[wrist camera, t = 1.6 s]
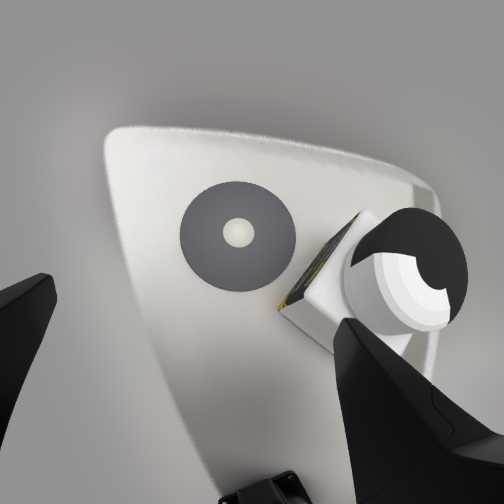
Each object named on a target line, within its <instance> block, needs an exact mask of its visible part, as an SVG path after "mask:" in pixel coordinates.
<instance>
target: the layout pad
mask: <svg viewBox="0 0 504 504" xmlns="http://www.w3.org/2000/svg"><path fill="white" fill-rule="evenodd" d="M180 241H181V247H182V250H183V253H184V256H185V258H186V260H187V262H188V264H189V265H190V267H191V268H192V269H193V270H194V272H195V273H196V274H197V275H198V276H199V277H201V278H202V279H203V280H205V281H206V282H208V283H209V284H211V285H213V286H215V287H218V288H221V289H224V290H229V291H239V292H240V291H250V290H255V289H258V288H261V287H263V286H265V285H267V284H269V283H270V282H272V281H273V280H275V279H276V278H277V277H278V276H279V275H280V274H281V273H282V272H283V271H284V270H285V269H286V267H287V266H288V264H289V262H290V260H291V258H292V256H293V253H294V249H295V243H296V232H295V226H294V223H293V220H292V217H291V215H290V213H289V211H288V209H287V208H286V206H285V205H284V204H283V203H282V201H281V200H280V199H279V198H278V197H276V196H275V195H274V194H273V193H271V192H270V191H268V190H267V189H265V188H263V187H260V186H258V185H255V184H252V183H247V182H239V181H237V182H225V183H221V184H217V185H215V186H212V187H210V188H208V189H206V190H205V191H203V192H202V193H200V194H199V195H198V196H197V197H196V198H195V199H194V200H193V201H192V202H191V204H190V205H189V206H188V208H187V210H186V211H185V214H184V216H183V219H182V223H181V228H180Z"/></svg>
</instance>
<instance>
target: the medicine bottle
mask: <svg viewBox="0 0 504 504" xmlns="http://www.w3.org/2000/svg"><path fill="white" fill-rule="evenodd" d="M467 285H468V271H467V263H466V259H465V255H464V252H463V249H462V247H461V244H460V242H459V240H458V239H457V237H456V235H455V234H454V232H453V231H452V230H451V228H450V227H449V226H448V225H447V224H446V223H445V222H444V221H443V220H442V219H440V218H439V217H437V216H436V215H434V214H432V213H430V212H428V211H425V210H423V209H419V208H404V209H400V210H398V211H396V212H394V213H393V214H391V215H390V216H389V217H387V218H386V219H385V220H384V221H381V220H380V219H379V218H378V217H376V216H375V215H374V214H373V213H372V212H371V211H369V210H368V209H363V210H362V211H360V212H359V213H358V214H357V215H356V216H355V217H354V218H353V219H352V220H351V221H350V222H349V223H348V224H346V225H345V226H344V227H343V228H342V229H341V230H340V231H339V232H338V233H337V234H336V235H335V236H333V237H332V238H331V239H330V240H329V241H328V242H327V243H326V244H325V245H324V247H323V248H322V250H321V251H320V252H319V254H318V255H317V256H316V258H315V259H314V260H313V262H312V263H311V265H310V266H309V267H308V269H307V270H306V271H305V273H304V274H303V275H302V277H301V278H300V279H299V281H298V282H297V283H296V285H295V286H294V287H293V289H292V290H291V291H290V293H289V294H288V295H287V296H286V298H285V299H284V300H283V302H282V303H281V304H280V306H279V308H278V309H279V312H280V313H281V314H283V315H284V316H285V317H286V318H288V319H289V320H290V321H291V322H293V323H294V324H295V325H296V326H298V327H299V328H300V329H302V330H303V331H304V332H305V333H307V334H308V335H309V336H311V337H312V338H313V339H314V340H316V341H317V342H318V343H320V344H321V345H322V346H323V347H325V348H326V349H327V350H329V351H330V352H331V353H333V354H334V350H333V339H334V336H335V333H336V331H337V329H338V327H339V324H340V322H341V320H342V319H343V318H345V317H348V318H356V319H357V320H359V321H360V322H361V323H362V324H363V325H365V326H366V327H367V328H368V329H369V330H370V331H372V332H373V333H374V334H375V335H376V336H377V337H379V338H380V339H381V340H382V341H383V342H384V343H386V344H387V345H388V346H389V347H390V348H391V349H393V350H394V351H395V352H396V353H397V354H398V355H400V356H401V355H402V353H403V351H404V349H405V348H406V346H407V344H408V342H409V340H410V338H411V336H412V335H413V333H421V332H429V331H436V330H439V329H441V328H443V327H445V326H446V325H448V324H449V323H450V322H451V321H452V320H453V319H454V318H455V316H456V315H457V314H458V312H459V310H460V308H461V306H462V304H463V302H464V298H465V295H466V291H467Z"/></svg>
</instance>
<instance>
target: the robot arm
mask: <svg viewBox="0 0 504 504" xmlns="http://www.w3.org/2000/svg"><path fill="white" fill-rule="evenodd" d="M56 303H57V293H56V289H55V284H54V279H53V277H52V276H51V275H50V274H45V273H39V274H37V275H34V276H32V277H30V278H28V279H25V280H23V281H21V282H19V283H16V284H14V285H12V286H10V287H7V288H5V289H3V290H1V291H0V448H1V445H2V442H3V439H4V436H5V432H6V429H7V426H8V423H9V420H10V417H11V414H12V412H13V409H14V406H15V403H16V401H17V398H18V395H19V393H20V390H21V388H22V385H23V383H24V381H25V378H26V376H27V373H28V371H29V369H30V366H31V364H32V362H33V360H34V357H35V355H36V353H37V351H38V349H39V347H40V344H41V342H42V340H43V337H44V335H45V331H46V329H47V326H48V324H49V321H50V318H51V316H52V313H53V311H54V308H55V306H56ZM333 350H334V361H335V372H336V383H337V390H338V395H339V401H340V406H341V411H342V416H343V422H344V427H345V433H346V438H347V444H348V450H349V456H350V462H351V468H352V475H353V481H354V488H355V495H356V502H357V504H504V435H500V434H497V433H495V432H493V431H491V430H490V429H488V428H487V427H486V426H484V425H483V424H481V423H480V422H479V421H478V420H476V419H475V418H474V417H472V416H471V415H470V414H468V413H467V412H466V411H464V410H463V409H462V408H460V407H459V406H458V405H457V404H455V403H454V402H453V401H451V400H450V399H449V398H448V397H447V396H446V395H444V394H443V393H442V392H441V391H440V390H439V389H437V388H436V387H435V386H434V385H432V383H431V382H429V381H428V380H427V379H426V378H425V377H424V376H423V375H421V374H420V373H419V372H418V371H417V370H416V369H415V368H413V367H412V366H411V365H410V364H409V363H408V362H406V361H405V360H404V359H403V358H402V357H401V356H400V355H398V354H397V353H396V352H395V351H394V350H393V349H391V348H390V347H389V346H388V345H387V344H386V343H384V342H383V341H382V340H381V339H380V338H379V337H377V336H376V335H375V334H374V333H373V332H372V331H370V330H369V329H368V328H367V327H366V326H365V325H363V324H362V323H361V322H360V321H359V320H357V319H356V318H348V317H345V318H343V319H342V320H341V322H340V324H339V327H338V329H337V331H336V333H335V336H334V339H333ZM0 450H1V449H0ZM291 475H293V477H292V478H290V479H288V477H289V476H291ZM223 502H227V504H313V503H312V502H311V500H310V498H309V496H308V495H307V493H306V491H305V489H304V487H303V485H302V484H301V482H300V480H299V478H298V476H297V475H296V473H295V472H293V471H288V472H286V473H283V474H281V475H279V476H277V477H274V478H272V479H266V480H263V481H261V482H259V483H256V484H254V485H251V486H248V487H246V488H243V489H241V490H239V491H238V492H237V493H234V494H231V495H228V496H225V497H222V498H220V499H219V500H218V504H222V503H223Z"/></svg>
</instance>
